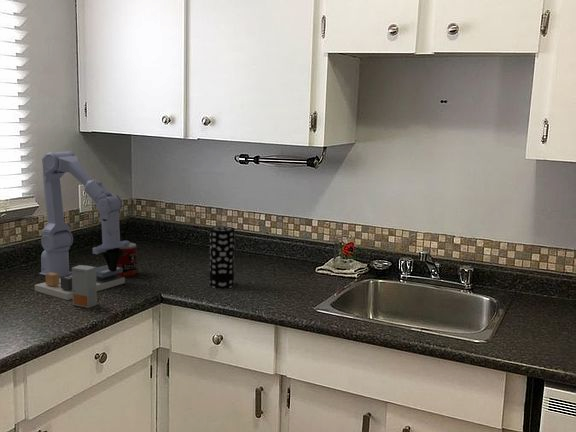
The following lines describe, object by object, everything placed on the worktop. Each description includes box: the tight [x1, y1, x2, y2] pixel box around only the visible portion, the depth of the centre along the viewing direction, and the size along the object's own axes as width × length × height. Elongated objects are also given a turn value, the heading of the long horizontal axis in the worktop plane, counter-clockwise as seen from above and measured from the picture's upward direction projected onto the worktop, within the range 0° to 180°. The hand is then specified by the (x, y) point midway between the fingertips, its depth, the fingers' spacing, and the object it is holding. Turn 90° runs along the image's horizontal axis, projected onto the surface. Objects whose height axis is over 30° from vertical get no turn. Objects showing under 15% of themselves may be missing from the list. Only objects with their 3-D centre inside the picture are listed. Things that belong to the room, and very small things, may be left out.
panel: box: [34, 274, 126, 301], centre depth 207 cm, size 16×24×4 cm, turn 148°
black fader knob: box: [60, 275, 72, 290], centre depth 197 cm, size 4×2×4 cm
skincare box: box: [71, 264, 98, 309], centre depth 188 cm, size 6×4×12 cm
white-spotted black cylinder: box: [209, 225, 235, 290], centre depth 212 cm, size 8×8×20 cm
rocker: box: [96, 264, 123, 278], centre depth 211 cm, size 7×9×2 cm
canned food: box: [116, 242, 138, 278], centre depth 223 cm, size 8×8×11 cm
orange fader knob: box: [44, 272, 59, 286], centre depth 201 cm, size 4×2×4 cm
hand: (112, 271), depth 209 cm, fingers closed, pressing on rocker
